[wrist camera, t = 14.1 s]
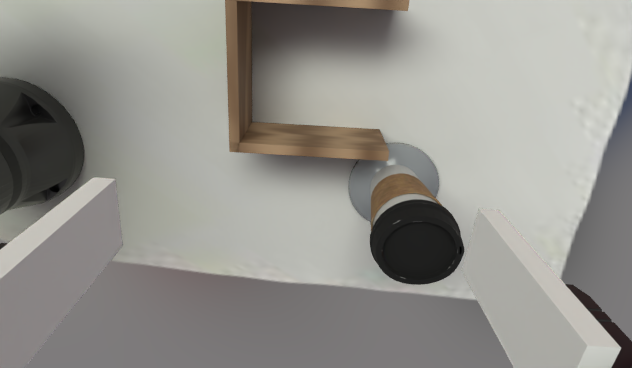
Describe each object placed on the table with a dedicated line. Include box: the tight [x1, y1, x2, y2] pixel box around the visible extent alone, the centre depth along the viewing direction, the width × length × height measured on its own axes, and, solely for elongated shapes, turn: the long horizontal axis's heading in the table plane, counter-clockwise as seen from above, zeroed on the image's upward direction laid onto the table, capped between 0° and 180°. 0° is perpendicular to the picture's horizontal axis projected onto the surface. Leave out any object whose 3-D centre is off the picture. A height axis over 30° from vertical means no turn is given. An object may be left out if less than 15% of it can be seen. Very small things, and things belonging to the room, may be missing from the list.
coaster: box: [349, 143, 439, 222], centre depth 51 cm, size 11×11×1 cm
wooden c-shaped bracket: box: [225, 0, 409, 161], centre depth 42 cm, size 16×15×8 cm
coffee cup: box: [370, 165, 464, 285], centre depth 44 cm, size 8×8×15 cm
